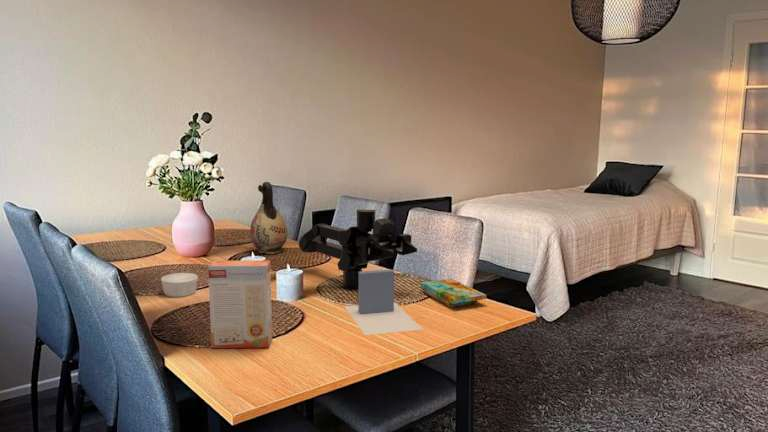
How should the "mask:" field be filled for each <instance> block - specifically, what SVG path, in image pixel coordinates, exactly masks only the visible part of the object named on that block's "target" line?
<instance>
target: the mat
mask: <svg viewBox="0 0 768 432" xmlns="http://www.w3.org/2000/svg"><path fill="white" fill-rule="evenodd" d="M343 308H344V309H345V310H346V311H347V313H348V314H349V315H350V317H351V319H352V320H353V321H354V322H355V324H356V325H357V327H359V329H360V331H361V332H362V333H363V334H364V335H365V336H371V335H380V334H381V335H382V334H389V333H390V334H391V333H401V332H403V333H404V332H411V331H413V332H414V331H421V330H424V328H422V327H421V326H420V325H419V324H418V323H417V322H416V321H415V320H414V319H413V317H411V316H410V315H409V314H408V313H407V312H406V311H405V310H403V308H402V307H401V306H399V304H397V302H396V301H394V311H393V312H382V313H371V314H360V313H359V312H358V304H357V305H356V304H354V305H345V306H343Z"/></svg>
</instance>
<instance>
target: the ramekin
mask: <svg viewBox="0 0 768 432" xmlns="http://www.w3.org/2000/svg"><path fill="white" fill-rule="evenodd" d="M198 280H199V276H198V275H197V274H196V273H193V272H177V273H176V272H175V273H170V274H166V275H163V276H162V277H161V278H160V282H161V286H162V290H163V294H164V295H165V296H167V297H171V298H182V297H188V296H189V297H190V296H191V295H193V294H195V293H196V291H197V287H198V286H197V285H198Z"/></svg>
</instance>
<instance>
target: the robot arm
mask: <svg viewBox="0 0 768 432" xmlns="http://www.w3.org/2000/svg"><path fill="white" fill-rule="evenodd" d="M395 226H396V225H395V222H394V221H393V219H390V218H386V217H385V218H378V219H376V210H375V209H357V210H356V226H350V227H348V228H347V229H345V228H340V227H337V226H333V225H328V223H318V224H314V225H313V226H312V227H311V228H310V229H309V230H308V231H307V232H306V233H304V234H303V235H302V236H301V237H300V239H299V241H298V247H299V249H300V250H301V252H303V253H309V254H310V253H319V254H322V255H325V256H329V257H331V258H335V259H337V260H339V261H338V262H337V269H338V270H339V271H342V274H343V275H342V283H341V284H339V285H338V286H339V287H341V288H343V289H345V290H349V291H354V290H358V288H359V272H360V271H363V269H367V267H368V265H369V264H368V263H369V262H374V261H375V262H376V261H379V260H384V259H388V258H391V257H392V258H393V257H394V256H395V252H396V254H397V255H400V256H405V255H406V256H407V255H411V254H414V253H418V248H417V247H416V246H415V245H413V244H412V235H411V234H407V233H403V234H398V235H397V236H396V237H395V238H396V242H394V243H393V242H392V241H391V240H392V237H393V236H392V235H391V234H390V233H391V232H392V231H394V228H395ZM370 232H372V233H370ZM327 239H330V240H332V241H333V240H334V241H337V242H338V243H339V244H337V243H333V242H329V241H328V240H327Z"/></svg>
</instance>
